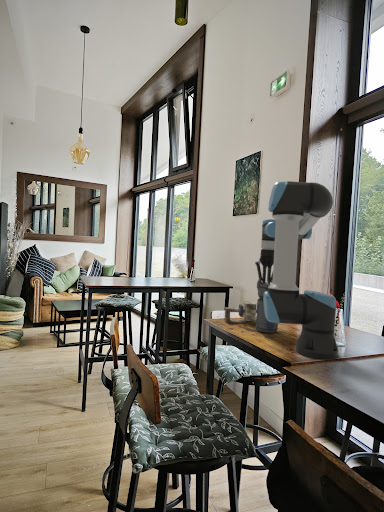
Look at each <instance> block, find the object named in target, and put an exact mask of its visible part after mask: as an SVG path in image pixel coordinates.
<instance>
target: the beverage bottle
mask: <svg viewBox="0 0 384 512" xmlns="http://www.w3.org/2000/svg"><path fill="white" fill-rule="evenodd" d="M261 279H262V278H259V277H258V280H257V282H256V288H257V296H258V298H257V302H256V304H257V305H256V309H257V313H256V324H255V330H257V332H260V333H263V332H266V333H265V334H274V333H277V331H278V329H279V328H278V327H279V324H278V323H274V322H269V321H268V320H267V319H266V316H265V311H264V302H263V297H264V292H266V291H268V287H269V286H270V285H271V284H272V283H273V281H269V282H270V284H266V283H262V280H261Z"/></svg>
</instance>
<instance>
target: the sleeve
mask: <svg viewBox="0 0 384 512" xmlns="http://www.w3.org/2000/svg"><path fill="white" fill-rule="evenodd" d="M242 305H243V309H245V313H243V317H242V319H245V320H246V321H256V316H257V313H256V309H257V303H255V302H254V301H248V300H247V301H245V300H244V301H243V304H242Z"/></svg>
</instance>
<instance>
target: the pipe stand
mask: <svg viewBox="0 0 384 512" xmlns="http://www.w3.org/2000/svg"><path fill="white" fill-rule="evenodd" d="M239 312H240V309H239V308H234V307H229V306H228V307H227V306H225V307H224V319H223V320H224V323H226V324H242V323H243V324H245V325H256V321H246V320H245V319H244V318H231V313H239ZM243 313H245V309H243ZM256 314H257V308H256Z"/></svg>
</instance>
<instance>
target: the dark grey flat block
mask: <svg viewBox="0 0 384 512" xmlns="http://www.w3.org/2000/svg"><path fill="white" fill-rule="evenodd" d="M238 309H240V312H238V317H241V318H243V304H240V303H239V304H238Z"/></svg>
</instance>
